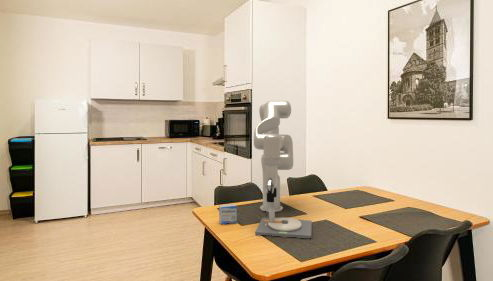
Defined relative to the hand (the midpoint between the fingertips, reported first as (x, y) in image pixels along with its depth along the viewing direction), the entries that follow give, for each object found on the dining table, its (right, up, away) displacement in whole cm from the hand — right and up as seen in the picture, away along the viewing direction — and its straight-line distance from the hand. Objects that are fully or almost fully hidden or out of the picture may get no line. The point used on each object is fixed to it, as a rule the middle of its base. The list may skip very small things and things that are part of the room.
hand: (271, 199), depth 147 cm
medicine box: (-21, -13, +10) cm, 27 cm away
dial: (+5, -12, +1) cm, 13 cm away
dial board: (+6, -14, +1) cm, 15 cm away
